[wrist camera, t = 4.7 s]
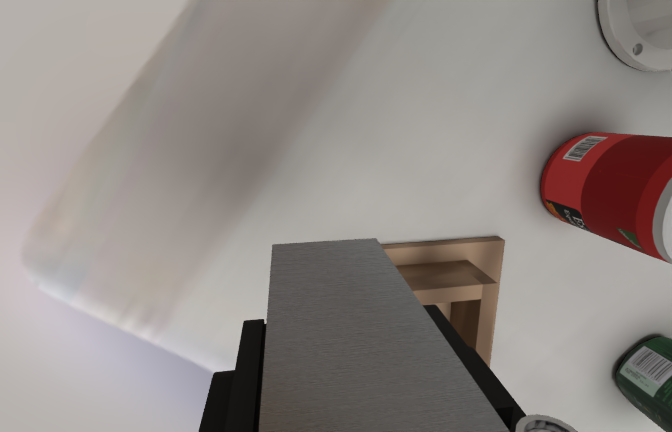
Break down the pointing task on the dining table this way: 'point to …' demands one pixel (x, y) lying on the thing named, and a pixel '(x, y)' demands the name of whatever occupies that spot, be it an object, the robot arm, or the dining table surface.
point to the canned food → (614, 189)
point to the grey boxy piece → (359, 349)
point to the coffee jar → (649, 380)
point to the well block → (456, 282)
